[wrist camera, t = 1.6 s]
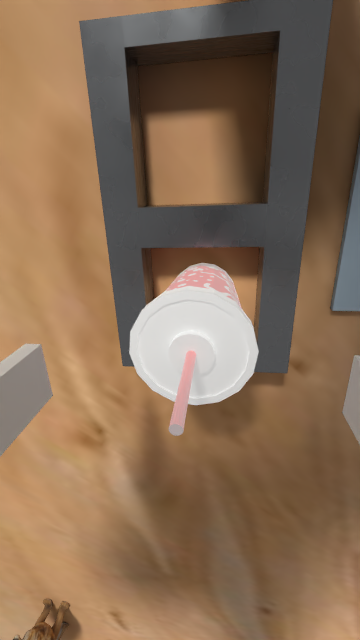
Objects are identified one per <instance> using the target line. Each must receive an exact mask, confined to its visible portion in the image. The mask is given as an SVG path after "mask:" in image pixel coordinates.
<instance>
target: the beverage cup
mask: <svg viewBox="0 0 360 640" xmlns="http://www.w3.org/2000/svg"><path fill="white" fill-rule="evenodd" d="M258 352H259V351H258V346H257V342H256V337H255V333H254V328H253V325H252V322H251V320H250V319H249V318H248V316H247V315H246V314H245V313H244V311H243V310H242V308H241V305H240V302H239V299H238V296H237V293H236V289H235V286H234V283H233V280H232V279H231V278H230V276H229V275H228V274H227V272H226V271H225V270H223V269H221V268H220V267H218V266H216V265H215V264H208V263H199V264H195V265H191V266H189V267H188V268H187V269H185V270H184V271H183V272H181V273H180V274H179V275H178V276H177V278H176V279H175V280H174V281H173V282H172V283H171V285H170V286H169V287H168V288H167V289H166V290H165V292H163V293H162V294H161V295H159V296H158V297H157V298H155V299H154V300H153V301H151V302H150V303H149V304H147V305H146V306H145V308H143V309H142V311H141V312H140V314H139V316H138V318H137V320H136V322H135V324H134V325H133V327H132V329H131V331H130V350H129V354H130V356H131V359H132V361H133V364H134V366H135V369H136V371H137V374H138V375H139V376H140V377H141V378H142V379H143V380H144V381H145V383H146V384H147V385H148V386H149V387H150V388H151V389H152V390H153V391H155V392H157V393H159V394H160V395H162V396H164V397H166V398H168V399H170V400H172V401H174V402H175V404H174V408H173V413H172V417H171V421H170V425H169V432H170V433H171V434H173V435H176V436H178V435H181V434H182V433H183V429H184V424H185V418H186V412H187V406H188V404H191V405H202V404H209V403H216V402H220V401H222V400H224V399H226V398H227V397H229V396H231V395H233V394H235V393H237V392H239V391H240V390H241V388H242V387H243V386H244V385H245V383H246V382H247V381H248V380H249V378H250V377H251V376H252V375H253V373H254V369H255V365H256V361H257V357H258Z"/></svg>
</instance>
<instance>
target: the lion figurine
mask: <svg viewBox="0 0 360 640" xmlns="http://www.w3.org/2000/svg"><path fill="white" fill-rule="evenodd" d="M43 604H44V605H45V608H44V610H43V612H42V614H41V616H40V617H39V619H38V620H37V622H36V624H35V626H34V627H33V628H32V629H31V630H28V631H27V632H26V634H25V636H24V638H23V640H60V638H61V636H62V634H63V632H64V631H65V630H66V629H67V628H68V626H69V625H68V624H67V623H62V621H63V617H64V614H65V611H66V610H67V609H68V608H69V603H68V602H65V601H62V603H61V605H60V607H59V611H58V615H57V619H56V621H55V623H54V625H53V627H52V628H51V626H50V625H49V624H47V623H45V619H46V617H47V615H48V614H49V612H50V610H51V608H52V601H51V600H50V599H45V600H44V601H43ZM13 640H22V639H21V638H20V636H19V635H16V636H15V637H14V639H13Z"/></svg>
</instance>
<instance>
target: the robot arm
mask: <svg viewBox="0 0 360 640" xmlns="http://www.w3.org/2000/svg"><path fill="white" fill-rule="evenodd" d="M52 396H53V394H52V390H51V386H50V381H49V377H48V373H47V368H46V364H45V360H44V355H43V351H42V347H41V344H24V345H23V346H22V347H20V348H19V349H18V350H16V351H15V352H14V353H12V354H11V355H9V356H8V357H7V358H5V359H4V360H3V361H1V362H0V456H1V455H2V454H3V453H4V452H5V450H6V449H7V448H8V447H9V446H10V445H11V443H12V442H13V441H14V440H15V439H16V438H17V436H18V435H19V434H20V433H21V432H22V431H23V429H24V428H25V427H26V426H27V425H28V424H29V423H30V421H31V420H32V419H33V418H34V417H35V416H36V414H37V413H38V412H39V411H40V410H41V409H42V407H43V406H44V405H45V404H46V403H47V402H48V400H49V399H50V398H51V397H52ZM342 413H343V415H344V417H345V419H346V421H347V422H348V424H349V426H350V428H351V430H352V432H353V433H354V435H355V437H356V439H357V441H358V443H359V444H360V355H354V359H353V364H352V369H351V374H350V378H349V383H348V388H347V393H346V397H345V402H344V407H343V412H342Z"/></svg>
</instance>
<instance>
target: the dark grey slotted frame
mask: <svg viewBox="0 0 360 640" xmlns="http://www.w3.org/2000/svg"><path fill="white" fill-rule="evenodd" d="M332 4H333V0H248V1H240V2H232V3H224V4H216V5H208V6H199V7H191V8H183V9H175V10H167V11H159V12H151V13H143V14H135V15H126V16H118V17H110V18H102V19H94V20H86V21H79V23H80V31H81V39H82V47H83V55H84V63H85V71H86V79H87V87H88V94H89V102H90V110H91V118H92V126H93V134H94V142H95V150H96V158H97V166H98V174H99V182H100V190H101V197H102V205H103V213H104V221H105V229H106V237H107V245H108V253H109V261H110V269H111V277H112V285H113V292H114V300H115V308H116V316H117V324H118V332H119V340H120V348H121V356H122V364H123V366H134V364H133V361H132V359H131V356H130V354H129V350H130V331H131V329H132V327H133V325H134V324H135V322H136V320H137V318H138V316H139V314H140V312H141V311H142V309H143V308H145V306H146V305H147V304H149V303H150V302H151V301H153V300H154V290H153V276H152V262H151V248H190V247H260V248H259V263H258V278H257V292H256V307H255V322H254V333H255V337H256V342H257V346H258V351H259V352H258V357H257V361H256V365H255V369H254V372H269V373H287V371H288V363H289V355H290V347H291V339H292V331H293V322H294V314H295V306H296V298H297V290H298V282H299V274H300V265H301V257H302V249H303V241H304V233H305V225H306V216H307V208H308V200H309V192H310V184H311V176H312V167H313V159H314V151H315V143H316V135H317V127H318V118H319V110H320V102H321V94H322V86H323V78H324V70H325V61H326V53H327V45H328V37H329V29H330V21H331V12H332ZM265 53H273V55H272V70H271V85H270V100H269V114H268V129H267V144H266V159H265V174H264V189H263V202H254V203H222V204H191V205H160V206H147V192H146V178H145V164H144V150H143V137H142V123H141V109H140V95H139V81H138V67H137V66H143V65H153V64H163V63H173V62H184V61H194V60H204V59H214V58H224V57H234V56H244V55H255V54H265ZM134 367H135V366H134Z"/></svg>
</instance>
